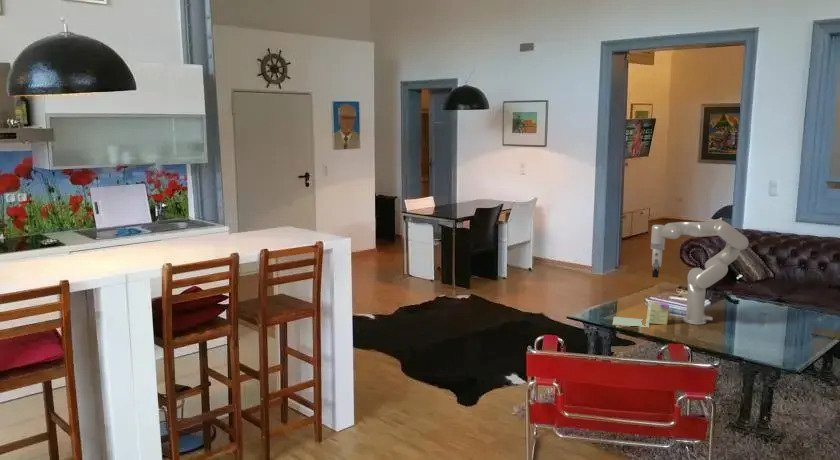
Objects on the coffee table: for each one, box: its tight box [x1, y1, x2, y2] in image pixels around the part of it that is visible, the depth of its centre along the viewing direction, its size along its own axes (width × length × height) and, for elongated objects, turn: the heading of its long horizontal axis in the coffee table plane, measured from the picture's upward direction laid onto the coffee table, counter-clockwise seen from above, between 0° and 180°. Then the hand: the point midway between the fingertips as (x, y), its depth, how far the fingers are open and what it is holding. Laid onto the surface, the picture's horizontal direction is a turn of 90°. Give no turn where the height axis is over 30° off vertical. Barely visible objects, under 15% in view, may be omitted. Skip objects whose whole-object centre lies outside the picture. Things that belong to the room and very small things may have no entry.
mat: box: [612, 316, 650, 329], centre depth 389 cm, size 20×14×1 cm
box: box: [646, 301, 670, 326], centre depth 387 cm, size 10×6×12 cm, turn 85°
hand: (655, 275), depth 388 cm, fingers open, 9 cm apart
